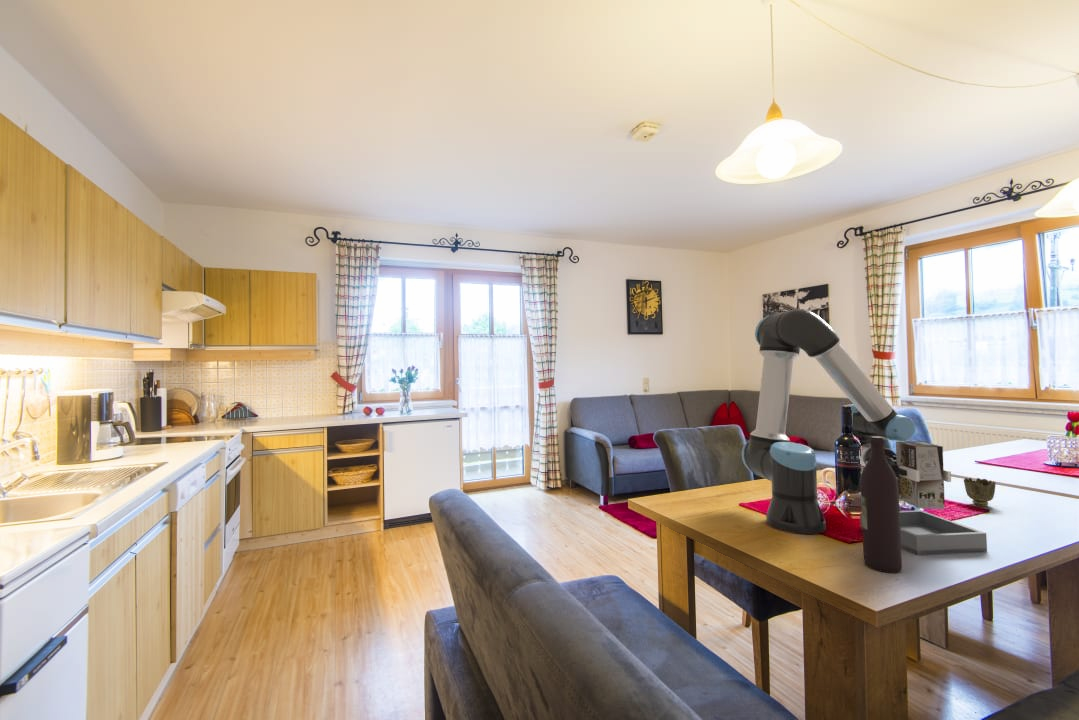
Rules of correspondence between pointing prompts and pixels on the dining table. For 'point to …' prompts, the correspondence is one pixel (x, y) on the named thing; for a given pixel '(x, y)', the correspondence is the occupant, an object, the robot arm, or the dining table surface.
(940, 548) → the tray
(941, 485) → the coffee box
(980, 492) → the cup
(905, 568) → the dining table surface
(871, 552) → the wine bottle
